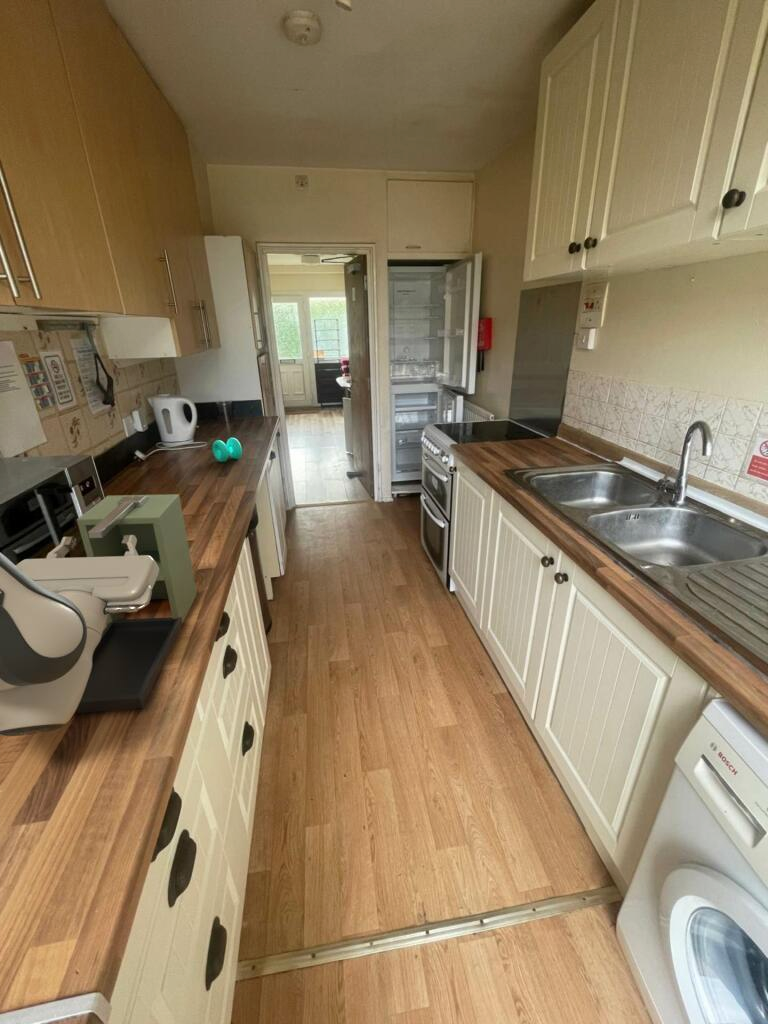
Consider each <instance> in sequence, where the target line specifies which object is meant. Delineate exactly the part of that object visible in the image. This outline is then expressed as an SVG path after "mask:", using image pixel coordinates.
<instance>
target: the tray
mask: <svg viewBox="0 0 768 1024" xmlns="http://www.w3.org/2000/svg"><path fill="white" fill-rule="evenodd" d="M183 626H184V625H183V624H182V619H181V617H179V619H173V617H172V616H169V617H150V618H148V617H147V618H132V619H129V618H128V619H123V620H113V621H112V622H109V624H108V625H107V624H106V625H105V627H104V630H103V634H102V637H101V640H100V642H99V644H98V645H97V647H96V648H95V650H94V653H93V657H92V669H91V673H90V676H89V679H88V682H87V685H86V687H85V690H84V693H83V695H82V698H81V700H80V703H79V705H78V707H77V709H76V711H75V713H74V714H84V713H85V714H87V713H98V712H111V711H124V710H125V711H126V710H138V709H139V710H140V709H143V708H144V706H145V704H146V703H147V700H148V698H149V697H150V694H151V692H152V690H153V688H154V686H155V684H156V682H157V680H158V678H159V676H160V674H161V672H162V670H163V667H164V665H165V664H166V661H167V660H168V657H169V656H170V653H171V651H172V649H173V647H174V644H175V643H176V641H177V639H178V637H179V635H180V633H181V630H182V628H183Z"/></svg>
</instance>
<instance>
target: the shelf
mask: <svg viewBox="0 0 768 1024" xmlns="http://www.w3.org/2000/svg"><path fill="white" fill-rule="evenodd" d="M130 496H134V497H137V496H148V497H149V498H148V499H147V500H146V503H145V504H144V505H143V506H141V507H140V508H134V509H133V510H132V511H131V512H130V513H129V514H128V515H126V516H125V517H124V518H123V519H122V520H121V521H120V522H119V523H118V524H117V525H116V526H115V527H114V528H113V529H112V530H110V531H109V532H108V533H107V534H106V535H105V536H104V537H103V538H89V534H88V532H89V531H90V530H91V529H92V528H93V527H94V526H96V525H97V524H98V523H99V522H100V521H102V520H103V519H104V518H105V517H106V516H107V515H109V514H110V513H111V512H112V511H113V510H114V509H116V508H117V507H118V503H117V502H118V501H120V500H121V499H122V498H123V497H130ZM76 522H77V526H78V529H79V533H80V536H81V540H82V543H83V548H84V551H85V554H86V557H112V556H124V555H125V552H126V551H129V549H126V548H125V547H124V545H123V544H122V540H123V539H124V538H123V537H124V535H134V536H135V537H136V539H137V543H136V546H135V549H136V551H137V553H138V555H139V556H144V555H148V556H151V557H152V558H153V559H154V560H155V562H156V563H157V565H158V567H159V573H158V576H157V579H156V581H155V584H154V586H153V588H152V594H151V598H150V600H166V599H168V602H169V607H170V613H171V617H173V619H179V617H181V619H182V624H183V623H184V622H185V619H186V618H187V615H188V614H189V611H190V610H191V607H192V605H193V603H194V601H195V599H196V597H197V595H198V594H197V588H196V582H195V576H194V571H193V564H192V559H191V554H190V553H191V552H190V547H189V542H188V537H187V532H186V524H185V520H184V514H183V508H182V501H181V497H180V494H179V493H177V494H176V493H175V494H173V493H172V494H171V493H170V494H124V495H123V494H119V495H117V494H116V495H106V496H105V497H104V498H102V500H100V501H99V502H97V503H96V504H95V505H94V506H92V507H91V508H90V509H88V510H87V511H86V512H85V513H83V514H81V516H79V517H78V518H77V519H76ZM127 614H128V613H127V612H124V613H117V614H109V615H108V618H107V621H106V624H105V625H106V626H107V625H108V624H109V622H112V621H113V620H124V618H125V617H126V616H127Z"/></svg>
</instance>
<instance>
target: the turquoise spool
mask: <svg viewBox="0 0 768 1024" xmlns="http://www.w3.org/2000/svg"><path fill="white" fill-rule="evenodd" d="M212 453H213V456H214V458H215V459H216V461H218V462H219V463H225V462H226V461H227V460H228V459H229V457H230V458H232V459H234V460H238V459H240V458H241V457H242V454H243V449H242V445H241V443H240V441H239V440H238V439H237V438H235V437H230V438H228V439H227V441H226V443H225V442H224V441H222V440H220V439H219V440H218V439H217V440H215V441H214V442H213V443H212Z"/></svg>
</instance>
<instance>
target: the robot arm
mask: <svg viewBox="0 0 768 1024" xmlns="http://www.w3.org/2000/svg"><path fill="white" fill-rule="evenodd" d="M123 538H124V539H123V540H122V544H123V545H124V547H125V548H126V549H129V551H126V552H125V555H124V556H112V557H87V556H83V557H65V556H66V555H67V554H68V553H69V552H70V551H75V550H76V548H77V546H78V540H77V538H76V537H75V536H63V537H62V538H61V541H60V543H59V544H58V545H57V546H56V547H54V548H53V549H52V550H51V551H50V552H48V553H47V555H46V557H45V558H25V559H23V560H21V561H20V562H18V563H17V564H14V563H13V562H12V561H11V559H9V558H8V557H6V556H5V555H4V554H3V553H2V552H0V736H5V737H19V736H30V735H33V734H42V733H47V732H51V731H55V730H58V729H61V728H62V727H63V726H65V725H66V724H68V723H69V721H71V719H72V717H73V716H74V715H75V714H76V713H75V711H76V709H77V707H78V705H79V703H80V700H81V698H82V695H83V693H84V690H85V687H86V685H87V682H88V679H89V676H90V673H91V669H92V657H93V653H94V650H95V648H96V647H97V645H98V644H99V642H100V640H101V637H102V634H103V630H104V629H105V628H106V625H107V624H106V621H107V618H108V615H109V614H117V613H124V612H127V614H132V613H133V614H134V613H137V612H139V610H142V609H144V608H146V606H148V605H149V604H150V601H151V599H150V598H151V594H152V588H153V586H154V584H155V581H156V579H157V576H158V573H159V567H158V565H157V563H156V562H155V560H154V559H153V558H152V557H151V556H148V555H144V556H139V555H138V553H137V551H136V549H135V546H136V543H137V539H136V537H135V536H134V535H124V537H123Z"/></svg>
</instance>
